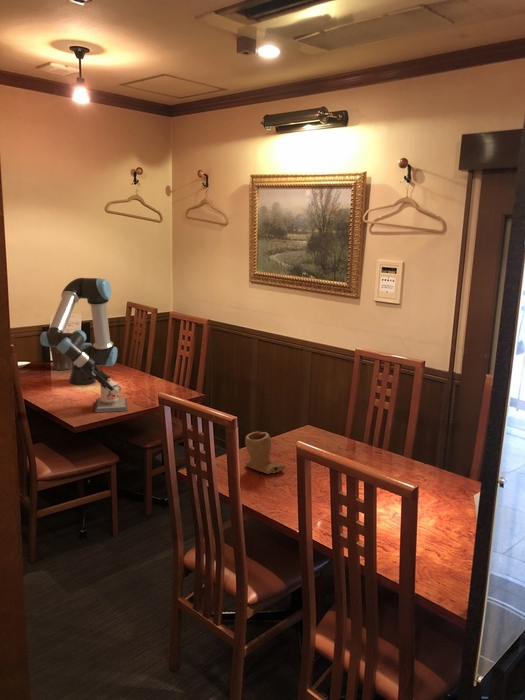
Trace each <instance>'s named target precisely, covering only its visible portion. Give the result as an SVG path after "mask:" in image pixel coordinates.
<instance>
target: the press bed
mask: <svg viewBox="0 0 525 700" xmlns="http://www.w3.org/2000/svg"><path fill="white" fill-rule="evenodd" d="M94 406H95V407H94V413H95V412H99V413H112V412H113V413H114V412H115V413H116V411H119V412H128V398H127V397H126V396H118V400H117V401H115V402H102V401H101V397H98V398H97V399H95V405H94Z"/></svg>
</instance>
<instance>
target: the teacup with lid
mask: <svg viewBox="0 0 525 700" xmlns="http://www.w3.org/2000/svg"><path fill="white" fill-rule="evenodd" d="M107 382H108V383H109V384H111V385H112V386H113V387H114V388H116V389H117V390H118V391H119V393H118V394H117V395H116V396H115V395H114V394H113V393H112V392H111V391H109V390H108V389H107V388H104V387H103V386H102V385H101V384H100V383H99V387H100V398H101V401H102V402H115V401H117V400H118V397H119V394H121V392H122V386H121V385H120V384H119V383H118V381H115V380H113V379H112V378H108V379H107ZM118 386H119V388H118Z"/></svg>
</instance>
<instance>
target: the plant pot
mask: <svg viewBox="0 0 525 700" xmlns="http://www.w3.org/2000/svg"><path fill="white" fill-rule="evenodd" d="M49 349H50V353H51V359H52V366H53V369H54V370H55V369H56V371H66V370H72V361H71V360H70V359H69V358H67V357H66V356H65V355H64V354H62V353H61V352H60V351H59V350H58V349H57V347H49Z"/></svg>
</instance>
